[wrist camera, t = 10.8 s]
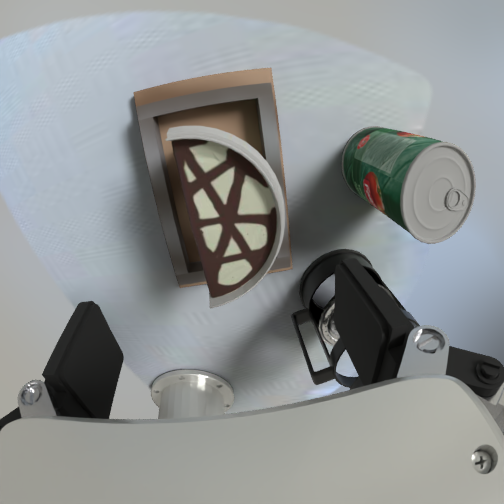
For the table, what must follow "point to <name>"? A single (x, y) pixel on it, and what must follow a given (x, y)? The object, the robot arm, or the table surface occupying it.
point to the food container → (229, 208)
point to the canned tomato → (411, 180)
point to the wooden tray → (215, 116)
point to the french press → (331, 313)
